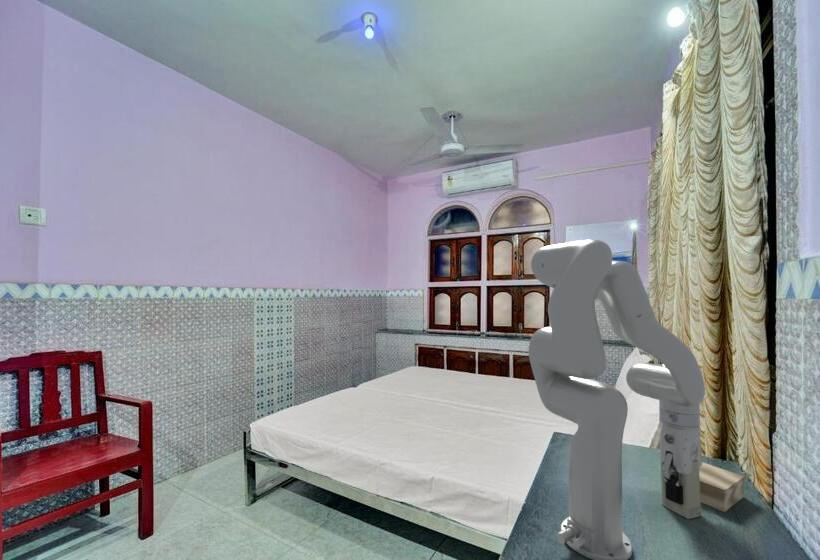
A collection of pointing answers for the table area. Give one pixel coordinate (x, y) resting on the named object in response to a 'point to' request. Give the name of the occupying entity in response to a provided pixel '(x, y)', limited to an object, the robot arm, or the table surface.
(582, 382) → the robot arm
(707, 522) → the table surface
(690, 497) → the skincare box
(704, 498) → the birch trinket box
